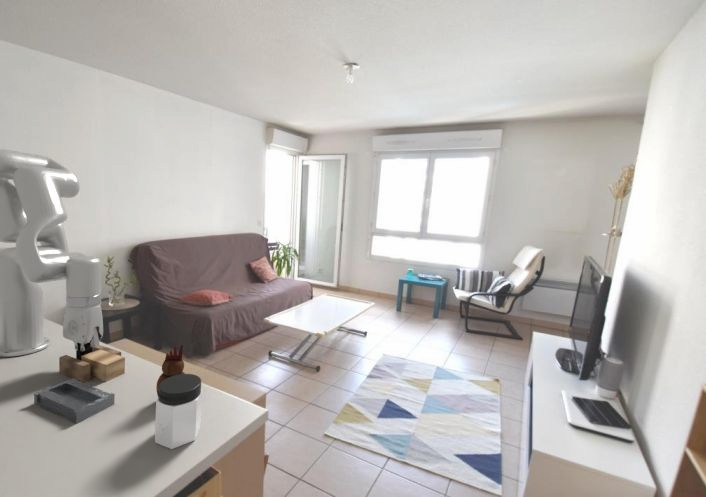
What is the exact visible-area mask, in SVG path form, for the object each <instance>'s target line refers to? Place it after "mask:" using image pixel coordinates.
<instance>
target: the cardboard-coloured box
mask: <svg viewBox="0 0 706 497" xmlns="http://www.w3.org/2000/svg"><path fill="white" fill-rule="evenodd" d="M81 360H82V361H84V362H87V363H90V377H93V378H95V379H98V380H99V381H100V380H101V381H103V382H105V383H107V382H108V381H111V380H114V379H115V378H118V377H121V376H122V375H124V374H126V373H125V371H126V370H125V368H126V357H124V356H122V355H121V356H119V355H116V354H113V353H110V352H107V351H104V350H101V349H100V350H97V351H94V352H92V353H89V354H86V355H83V356H81Z"/></svg>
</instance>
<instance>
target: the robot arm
mask: <svg viewBox="0 0 706 497" xmlns="http://www.w3.org/2000/svg"><path fill="white" fill-rule="evenodd" d="M9 180H11V181H13V184H12V183H11V182H10V181H9ZM80 189H81V188H80V182H79V180H78V177H77V176H76V175H75V174H74V173H73V172H72V171H71V170H70V169H68V167H67V168H66V167H65V166H64V165H62V164H61V163H58V162H57V161H56V160H54V159H52V158H50V157H48V156H45V155H42V154H41V155H39V154H35V153H30V152H29V153H28V152H23V151H22V152H21V151H16V150H11V149H4V148H0V243H4V244H15V247H9V248H8V247H7V248H4V249H1V250H0V357H5V358H8V357H9V358H10V357H19V356H24V355H28V354H29V355H30V354H34V353H36V352H39V351H43V350H44V349H46V348H48V347H49V346H50V345H51V339H50V338H49V337H47V336H45V335H44V334H45V333H44V327H45V326H44V325H45V324H44V290H43V288H42V287H41V285H39V284H43V283H49V282H56V281H62V280H65V282H66V283H65V291H66V292H65V294H66V295H65V296H66V297H65V298H66V299H65V303H66V305H65V307H64V311H63V313H64V314H63V323H62V336H63V338H65V339H67V340H69V341H71V342H73V344H74V349H75V350H76V351H75V358H76V359H79V360H81V356H83V355H86V354H89V353H92V348H94V347H95V346H98V345H100V340H101V339H102V338H103V335H104V319H103V312H102V306H101V305H102V260H101V259H100V258H98V257H96V256H89V255H86V254H84V253H82V252H75V251H73V252H70V250H69V245H68V241H67V237H66V233H65V229H64V225H63V223H64V222H65V221H67V219H68V214H67V211H66V208H65V205H64V203H63V200H62V198H65V199H66V198H69V199H70V198H71V199H72V198H75V197H76V196H78V194H79V192H80ZM38 243H39V245H38Z"/></svg>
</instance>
